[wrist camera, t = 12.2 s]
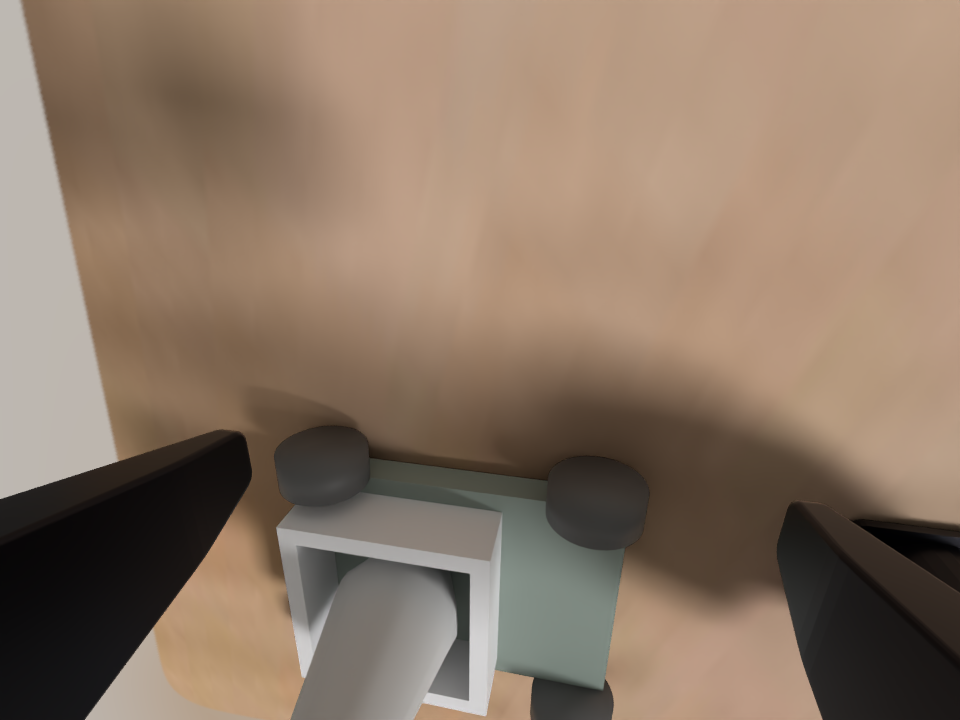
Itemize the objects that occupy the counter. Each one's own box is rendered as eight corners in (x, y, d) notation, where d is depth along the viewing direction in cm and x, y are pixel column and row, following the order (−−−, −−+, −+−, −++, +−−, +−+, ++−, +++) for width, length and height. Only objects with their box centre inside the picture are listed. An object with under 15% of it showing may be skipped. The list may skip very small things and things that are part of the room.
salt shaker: (478, 548, 24) (368, 934, 12) (460, 632, 26) (353, 1025, 15) (359, 514, 25) (147, 850, 13) (352, 600, 27) (167, 950, 15)
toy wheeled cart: (644, 462, 22) (656, 533, 18) (608, 686, 28) (611, 779, 24) (303, 421, 25) (247, 475, 21) (331, 632, 31) (291, 707, 27)
